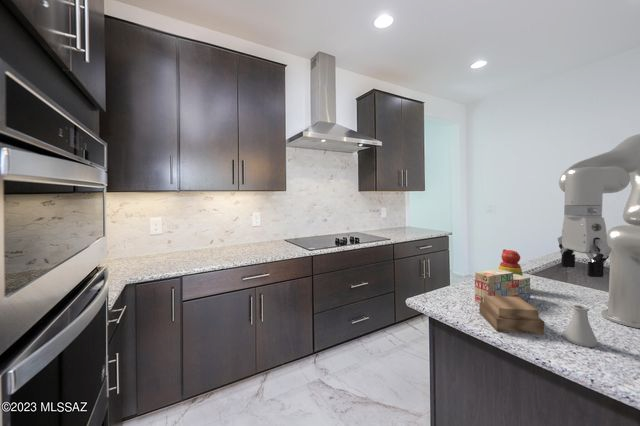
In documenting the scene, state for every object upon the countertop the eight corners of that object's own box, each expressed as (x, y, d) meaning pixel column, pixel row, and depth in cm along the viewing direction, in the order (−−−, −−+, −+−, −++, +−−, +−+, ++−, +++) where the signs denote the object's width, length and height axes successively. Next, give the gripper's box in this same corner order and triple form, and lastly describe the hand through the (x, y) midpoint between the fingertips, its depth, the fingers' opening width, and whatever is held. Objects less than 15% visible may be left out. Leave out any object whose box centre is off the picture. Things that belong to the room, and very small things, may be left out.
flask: (605, 348, 71) (607, 312, 71) (579, 348, 71) (580, 312, 71) (579, 334, 79) (580, 301, 78) (555, 334, 79) (556, 302, 78)
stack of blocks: (515, 295, 111) (515, 266, 110) (530, 300, 105) (531, 270, 104) (474, 301, 105) (474, 271, 104) (488, 307, 99) (488, 275, 98)
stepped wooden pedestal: (519, 315, 92) (520, 295, 91) (544, 334, 79) (544, 311, 78) (479, 313, 94) (479, 294, 94) (496, 331, 81) (496, 309, 81)
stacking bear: (531, 291, 113) (531, 251, 113) (512, 294, 111) (513, 253, 110) (508, 284, 124) (508, 247, 123) (490, 286, 122) (491, 248, 121)
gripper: (628, 213, 64) (625, 281, 65) (574, 210, 81) (572, 264, 82) (592, 213, 65) (590, 280, 66) (546, 210, 82) (545, 263, 83)
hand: (580, 271), depth 74 cm, fingers open, 9 cm apart
